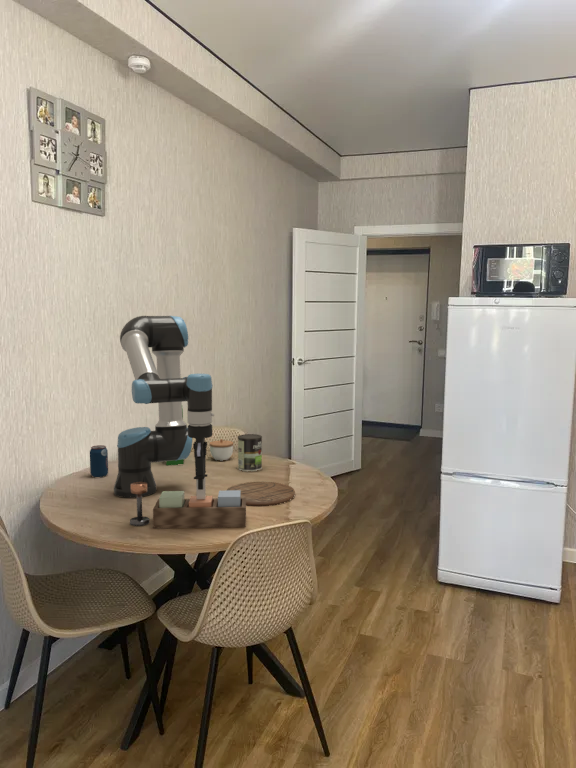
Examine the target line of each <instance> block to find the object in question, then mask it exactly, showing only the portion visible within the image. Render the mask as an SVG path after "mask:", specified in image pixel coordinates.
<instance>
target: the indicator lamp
mask: <svg viewBox="0 0 576 768" xmlns="http://www.w3.org/2000/svg"><path fill="white" fill-rule="evenodd" d="M146 492H147V483H146V482H135V483H132V484H131V493H132V494H137V497H136V516H135V517H132V518H131V519H130V520H129V525H130V526H132V527H133V526H134V527H143V526H147V525H149V524H150V522H151V521H150V517H148V516H143V497H142V494H143V493H146Z"/></svg>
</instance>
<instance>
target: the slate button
mask: <svg viewBox="0 0 576 768" xmlns="http://www.w3.org/2000/svg"><path fill="white" fill-rule="evenodd" d="M217 498H218V507H240V504H241V490H227V489H226V490H218V495H217Z"/></svg>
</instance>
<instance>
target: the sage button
mask: <svg viewBox="0 0 576 768" xmlns="http://www.w3.org/2000/svg"><path fill="white" fill-rule="evenodd" d="M158 499H159V508H181V507H183V506H184V503H185V499H186V497H185V490H172V491H171V490H170V491H169V490H165V491H162V492H161V494H160V495H159V497H158Z"/></svg>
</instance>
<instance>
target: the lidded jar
mask: <svg viewBox="0 0 576 768" xmlns="http://www.w3.org/2000/svg"><path fill="white" fill-rule="evenodd" d="M233 450H234V442H233V441H231V440H227V439H226V440H224V439H223V438H220V439H219V440H213V441H210V442H209V452H210V454H211V457H212V458H213V459H214V460H215V461H217V460H220V461H219V462H223V460H226V461H228V460H229V459H230V458H231V457H232V455H233V452H234V451H233Z"/></svg>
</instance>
